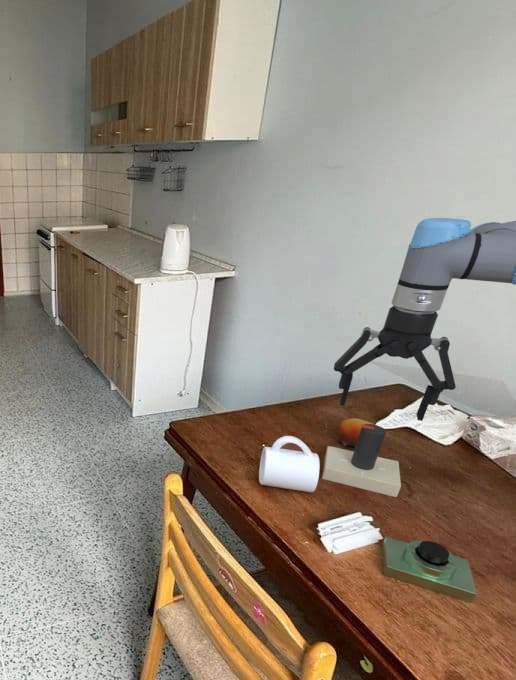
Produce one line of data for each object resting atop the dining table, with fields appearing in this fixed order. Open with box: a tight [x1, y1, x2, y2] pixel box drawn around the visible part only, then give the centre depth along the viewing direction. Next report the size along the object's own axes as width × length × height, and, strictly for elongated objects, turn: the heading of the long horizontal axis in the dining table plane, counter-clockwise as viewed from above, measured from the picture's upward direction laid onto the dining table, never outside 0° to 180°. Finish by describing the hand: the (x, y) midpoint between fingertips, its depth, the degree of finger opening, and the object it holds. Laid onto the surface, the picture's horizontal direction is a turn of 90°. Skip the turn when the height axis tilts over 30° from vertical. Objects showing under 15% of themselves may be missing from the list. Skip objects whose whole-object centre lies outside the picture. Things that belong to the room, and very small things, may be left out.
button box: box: [381, 536, 478, 604], centre depth 79 cm, size 12×8×4 cm, turn 61°
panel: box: [321, 445, 402, 498], centre depth 104 cm, size 14×10×3 cm
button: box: [417, 540, 450, 566], centre depth 78 cm, size 4×4×2 cm
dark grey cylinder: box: [351, 423, 387, 470], centre depth 101 cm, size 4×4×9 cm
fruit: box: [338, 417, 374, 448], centre depth 114 cm, size 8×8×8 cm
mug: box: [258, 435, 321, 493], centre depth 100 cm, size 8×10×12 cm
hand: (379, 410), depth 97 cm, fingers open, 13 cm apart
